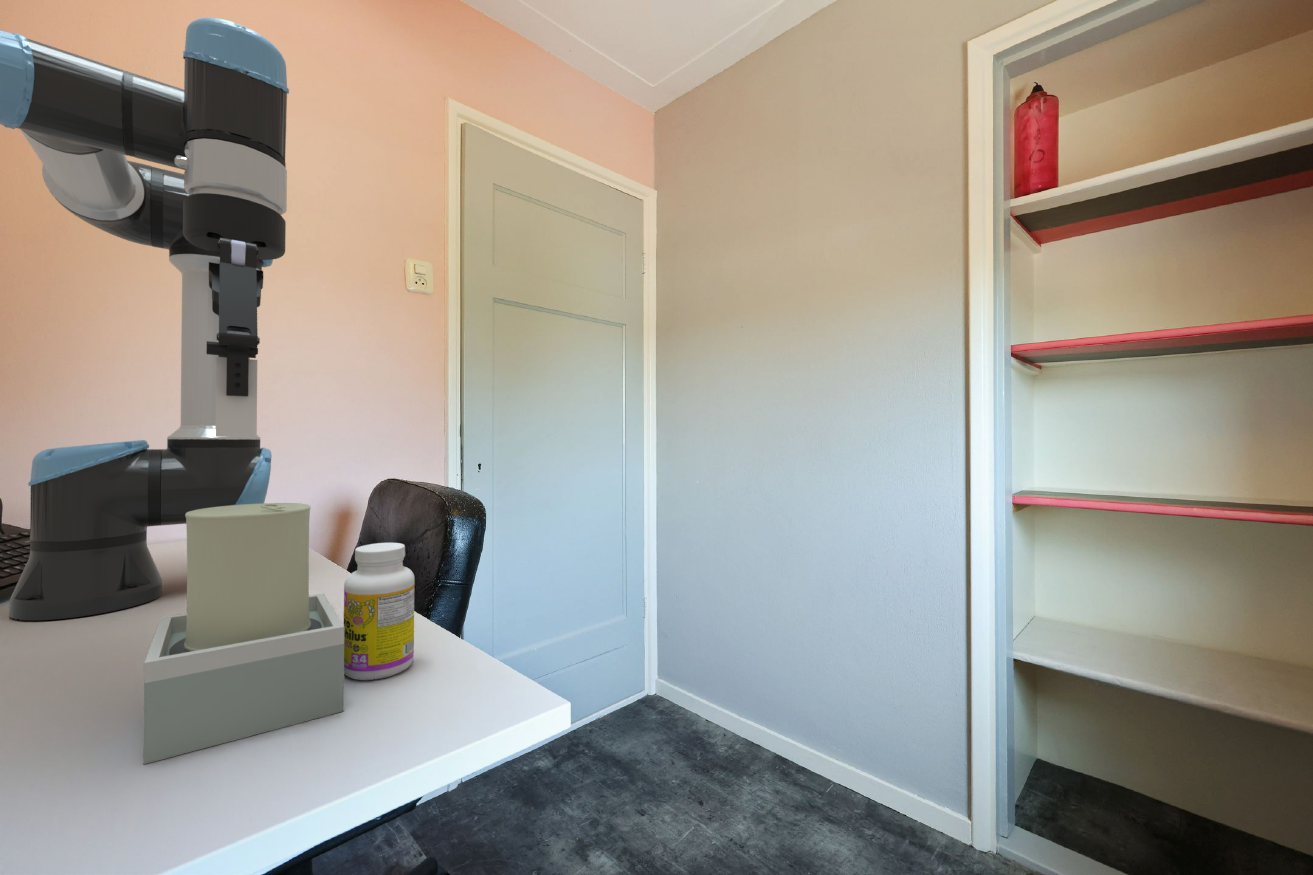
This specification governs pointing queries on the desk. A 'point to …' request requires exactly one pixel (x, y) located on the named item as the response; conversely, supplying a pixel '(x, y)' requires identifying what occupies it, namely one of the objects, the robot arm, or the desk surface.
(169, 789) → the desk surface
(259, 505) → the can
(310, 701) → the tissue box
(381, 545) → the supplement bottle
